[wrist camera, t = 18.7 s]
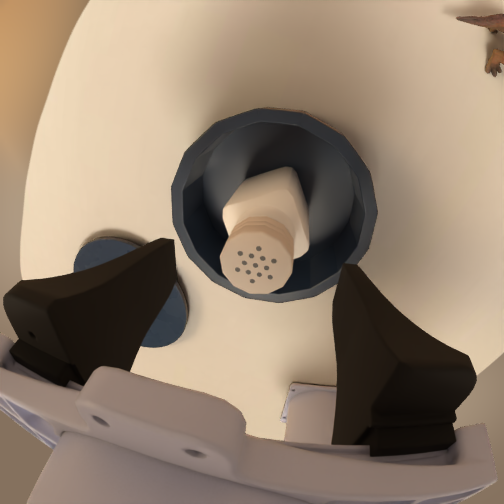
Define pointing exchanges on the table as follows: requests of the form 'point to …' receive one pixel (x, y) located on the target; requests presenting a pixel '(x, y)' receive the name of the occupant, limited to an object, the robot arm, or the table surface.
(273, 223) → the salt shaker
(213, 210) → the pot
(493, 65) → the dinosaur figurine
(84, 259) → the lid
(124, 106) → the table surface
